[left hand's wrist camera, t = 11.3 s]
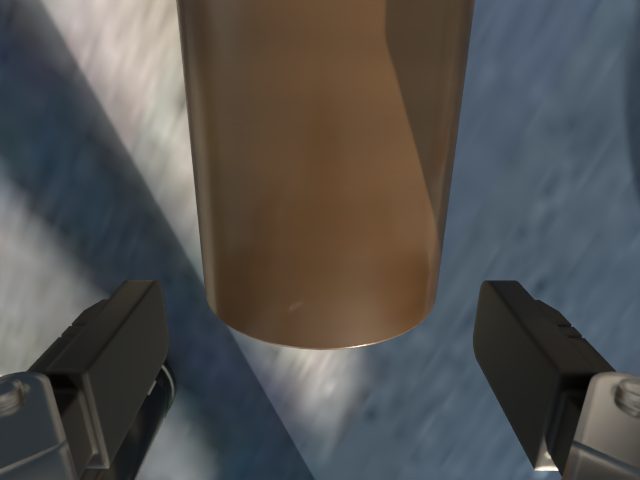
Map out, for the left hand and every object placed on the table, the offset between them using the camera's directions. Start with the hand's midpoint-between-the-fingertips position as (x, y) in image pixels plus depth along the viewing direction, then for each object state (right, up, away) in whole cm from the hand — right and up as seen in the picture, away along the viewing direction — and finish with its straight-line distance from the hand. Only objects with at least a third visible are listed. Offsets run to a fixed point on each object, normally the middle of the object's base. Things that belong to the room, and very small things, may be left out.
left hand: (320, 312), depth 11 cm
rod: (0, +14, -1) cm, 14 cm away
